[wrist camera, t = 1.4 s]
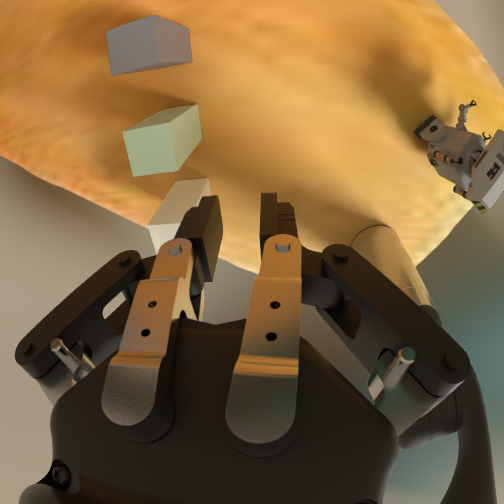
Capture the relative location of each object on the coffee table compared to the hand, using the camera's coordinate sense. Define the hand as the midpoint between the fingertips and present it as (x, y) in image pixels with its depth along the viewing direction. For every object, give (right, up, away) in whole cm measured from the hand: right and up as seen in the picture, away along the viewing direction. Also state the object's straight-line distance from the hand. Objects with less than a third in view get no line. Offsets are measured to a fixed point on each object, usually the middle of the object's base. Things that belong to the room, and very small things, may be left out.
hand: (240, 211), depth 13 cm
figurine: (+30, +16, +18) cm, 38 cm away
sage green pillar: (-9, +15, +20) cm, 27 cm away
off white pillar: (-8, +7, +27) cm, 29 cm away
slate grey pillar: (-10, +24, +14) cm, 29 cm away
